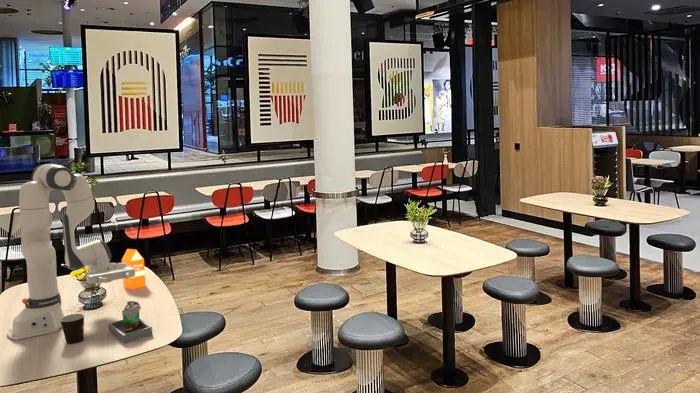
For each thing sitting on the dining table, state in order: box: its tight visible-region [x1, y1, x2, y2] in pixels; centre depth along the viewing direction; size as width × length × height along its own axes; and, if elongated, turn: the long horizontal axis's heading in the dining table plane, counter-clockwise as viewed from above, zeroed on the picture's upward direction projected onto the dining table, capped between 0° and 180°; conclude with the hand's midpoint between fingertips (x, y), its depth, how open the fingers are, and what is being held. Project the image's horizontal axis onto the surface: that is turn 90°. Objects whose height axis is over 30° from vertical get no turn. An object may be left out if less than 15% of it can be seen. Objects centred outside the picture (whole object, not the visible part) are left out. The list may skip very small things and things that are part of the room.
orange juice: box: [121, 248, 147, 290], centre depth 293 cm, size 8×9×20 cm
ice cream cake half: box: [121, 300, 141, 333], centre depth 233 cm, size 12×6×10 cm, turn 12°
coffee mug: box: [60, 313, 85, 345], centre depth 226 cm, size 12×9×10 cm
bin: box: [107, 318, 153, 345], centre depth 231 cm, size 12×18×4 cm, turn 41°
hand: (116, 278), depth 241 cm, fingers open, 8 cm apart
